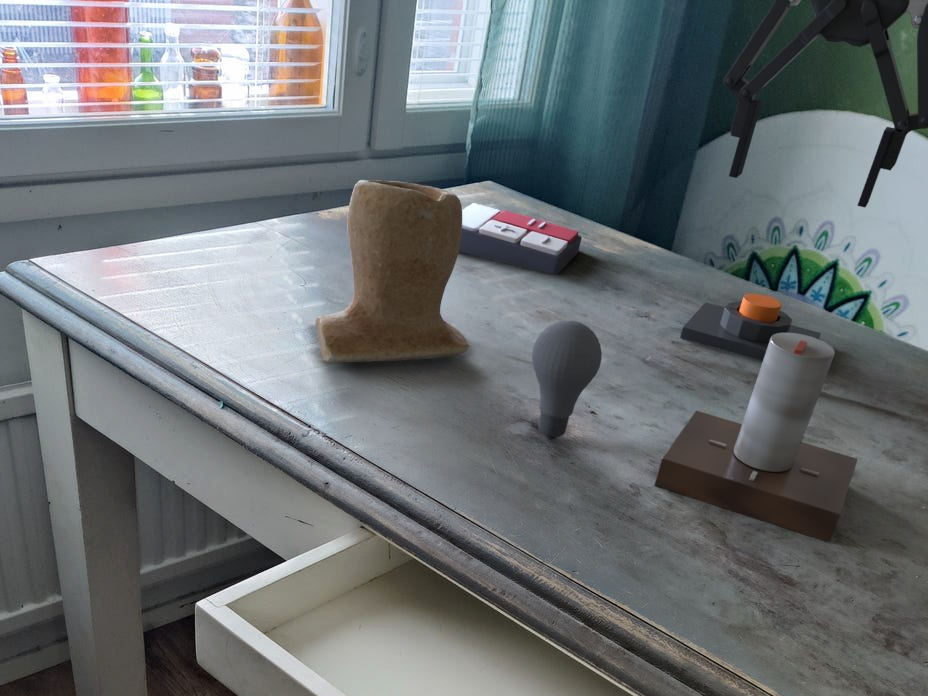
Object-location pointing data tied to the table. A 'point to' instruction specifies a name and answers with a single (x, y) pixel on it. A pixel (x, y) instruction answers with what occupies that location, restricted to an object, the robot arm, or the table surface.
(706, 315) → the button block
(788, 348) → the dial
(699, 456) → the dial panel
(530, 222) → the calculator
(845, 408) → the table surface
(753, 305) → the plunger
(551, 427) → the light bulb
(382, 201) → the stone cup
